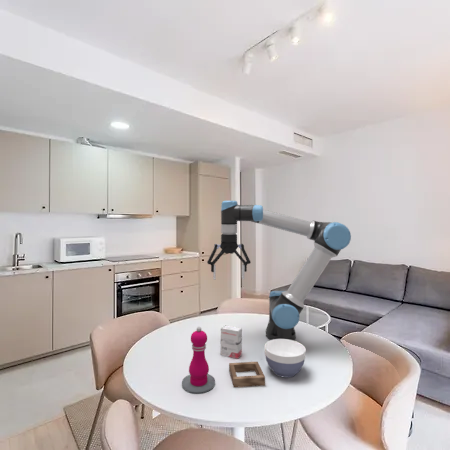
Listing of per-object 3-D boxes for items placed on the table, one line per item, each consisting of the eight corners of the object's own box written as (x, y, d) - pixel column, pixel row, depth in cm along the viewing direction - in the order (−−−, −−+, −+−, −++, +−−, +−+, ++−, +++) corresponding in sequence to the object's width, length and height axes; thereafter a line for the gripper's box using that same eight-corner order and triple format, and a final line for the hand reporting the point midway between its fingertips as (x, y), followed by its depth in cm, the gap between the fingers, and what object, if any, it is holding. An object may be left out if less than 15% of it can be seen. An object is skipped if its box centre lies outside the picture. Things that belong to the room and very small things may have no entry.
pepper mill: (193, 389, 100) (193, 332, 100) (185, 379, 106) (185, 325, 106) (212, 383, 103) (212, 328, 103) (203, 374, 110) (203, 322, 109)
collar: (257, 368, 115) (257, 361, 115) (265, 385, 104) (265, 377, 104) (229, 370, 114) (229, 363, 114) (233, 387, 103) (233, 379, 103)
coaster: (213, 373, 112) (213, 371, 112) (216, 392, 100) (216, 390, 100) (182, 375, 110) (182, 373, 110) (181, 394, 98) (181, 392, 98)
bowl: (298, 387, 103) (298, 360, 103) (257, 374, 111) (257, 349, 111) (310, 367, 117) (310, 344, 116) (273, 357, 125) (273, 335, 125)
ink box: (242, 354, 128) (242, 327, 128) (238, 359, 123) (238, 331, 123) (224, 350, 132) (224, 324, 131) (219, 355, 127) (219, 328, 127)
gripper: (253, 233, 141) (253, 276, 141) (202, 233, 138) (201, 277, 138) (257, 234, 133) (256, 279, 134) (202, 234, 130) (202, 281, 131)
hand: (228, 278), depth 136 cm, fingers open, 13 cm apart
